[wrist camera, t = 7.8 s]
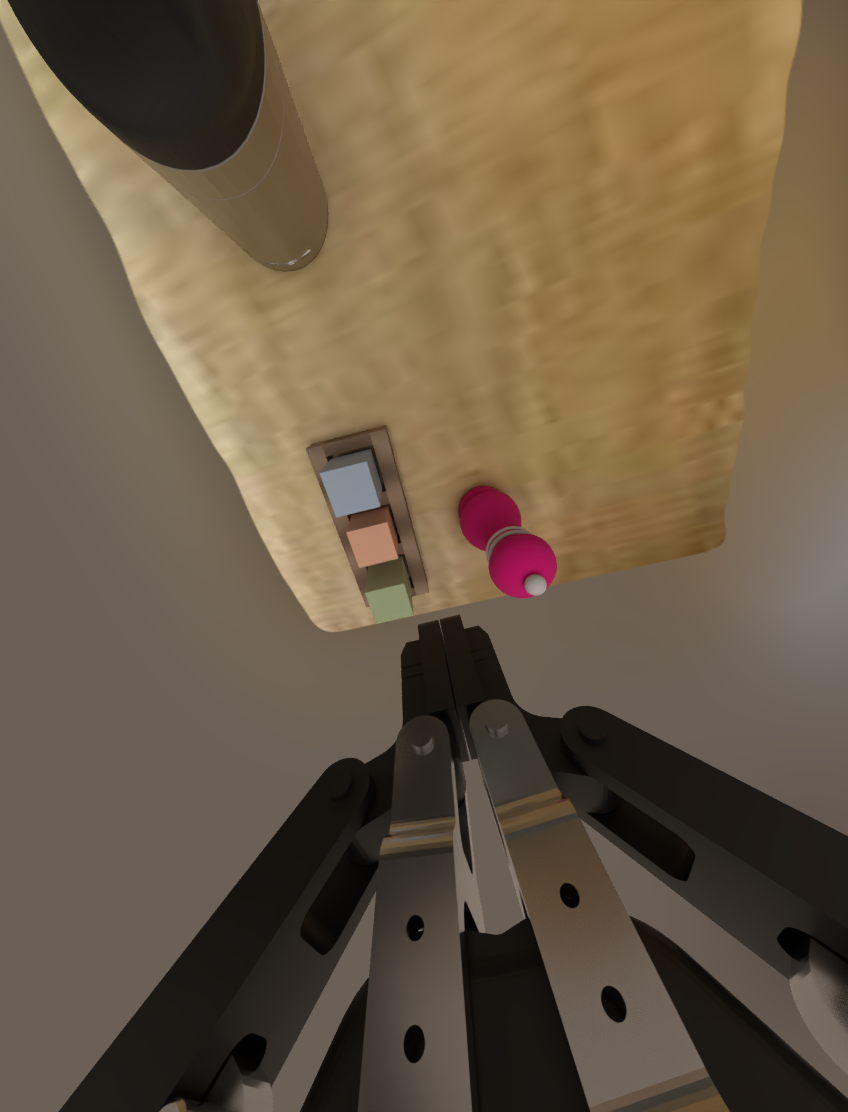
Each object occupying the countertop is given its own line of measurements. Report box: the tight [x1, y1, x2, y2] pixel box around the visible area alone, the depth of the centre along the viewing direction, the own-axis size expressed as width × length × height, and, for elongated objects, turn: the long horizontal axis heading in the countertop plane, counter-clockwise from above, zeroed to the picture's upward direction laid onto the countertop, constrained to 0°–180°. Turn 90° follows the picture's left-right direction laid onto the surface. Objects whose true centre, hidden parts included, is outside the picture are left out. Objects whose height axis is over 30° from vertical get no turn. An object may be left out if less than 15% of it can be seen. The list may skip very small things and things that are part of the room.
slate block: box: [320, 449, 382, 518], centre depth 36 cm, size 5×5×7 cm
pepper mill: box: [459, 486, 557, 598], centre depth 36 cm, size 7×7×20 cm
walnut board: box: [306, 426, 429, 607], centre depth 43 cm, size 22×9×3 cm, turn 13°
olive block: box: [365, 556, 413, 624], centre depth 42 cm, size 5×5×7 cm
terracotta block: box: [346, 504, 398, 568], centre depth 41 cm, size 5×5×7 cm
